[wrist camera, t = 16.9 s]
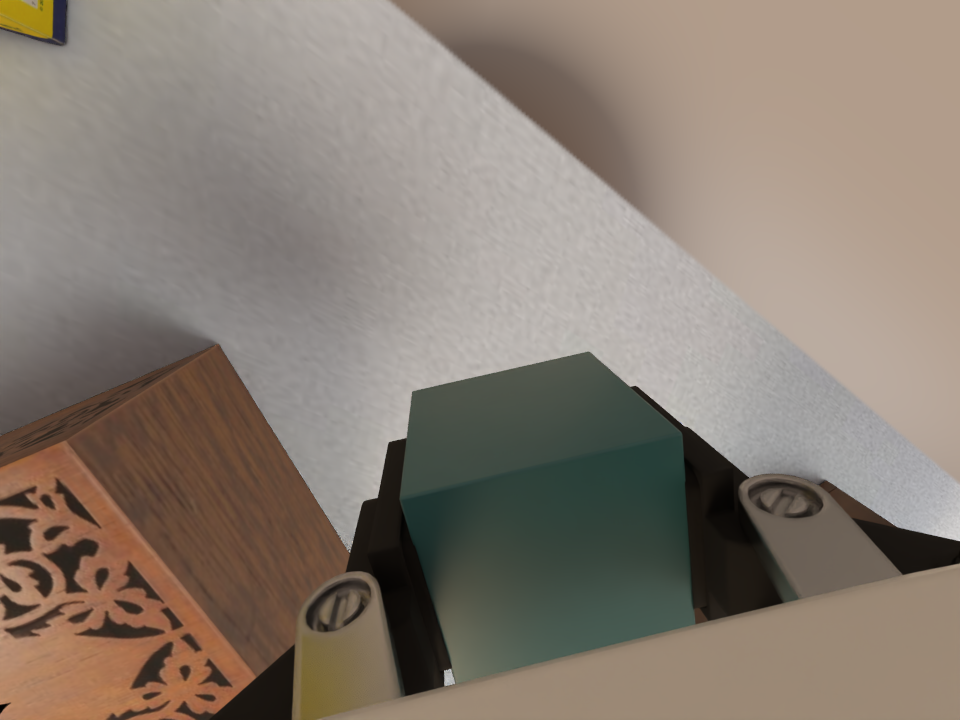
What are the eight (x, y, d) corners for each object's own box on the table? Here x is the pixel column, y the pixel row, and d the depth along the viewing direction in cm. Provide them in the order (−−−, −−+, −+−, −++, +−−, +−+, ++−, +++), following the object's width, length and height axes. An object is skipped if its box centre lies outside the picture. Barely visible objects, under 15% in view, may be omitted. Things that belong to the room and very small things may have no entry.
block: (589, 350, 12) (683, 432, 7) (609, 501, 13) (697, 645, 9) (411, 390, 11) (398, 498, 7) (451, 538, 13) (461, 704, 9)
